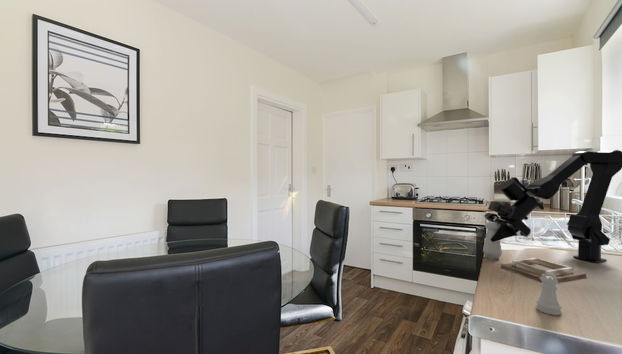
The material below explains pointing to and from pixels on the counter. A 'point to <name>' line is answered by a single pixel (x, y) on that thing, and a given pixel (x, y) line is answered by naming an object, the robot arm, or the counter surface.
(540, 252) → the counter surface
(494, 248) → the salt shaker
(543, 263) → the collar board
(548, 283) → the rook chess piece
